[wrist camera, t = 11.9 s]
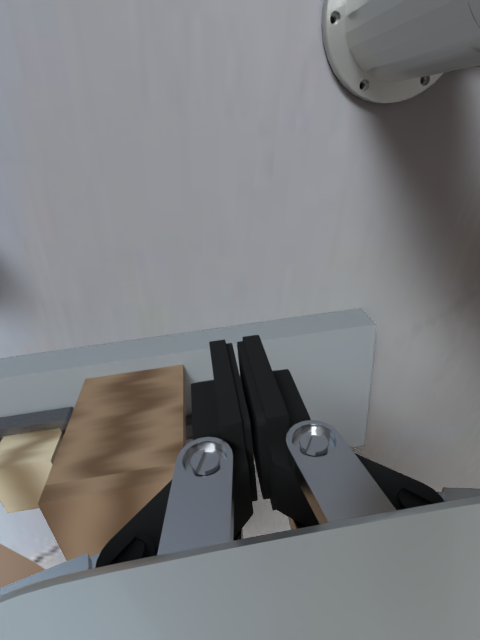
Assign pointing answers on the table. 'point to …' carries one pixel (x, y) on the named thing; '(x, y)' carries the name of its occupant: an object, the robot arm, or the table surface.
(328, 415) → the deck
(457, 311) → the table surface
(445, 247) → the table surface
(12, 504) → the block
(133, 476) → the tunnel
